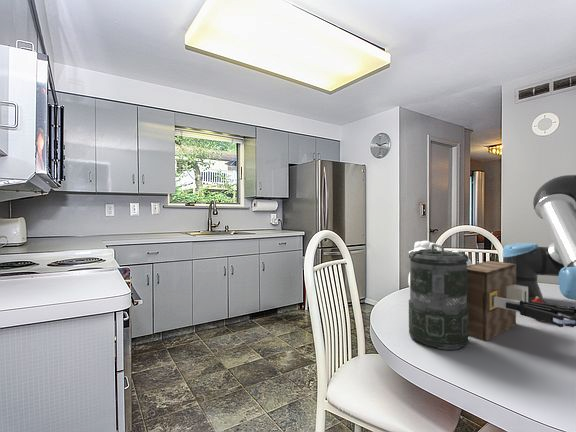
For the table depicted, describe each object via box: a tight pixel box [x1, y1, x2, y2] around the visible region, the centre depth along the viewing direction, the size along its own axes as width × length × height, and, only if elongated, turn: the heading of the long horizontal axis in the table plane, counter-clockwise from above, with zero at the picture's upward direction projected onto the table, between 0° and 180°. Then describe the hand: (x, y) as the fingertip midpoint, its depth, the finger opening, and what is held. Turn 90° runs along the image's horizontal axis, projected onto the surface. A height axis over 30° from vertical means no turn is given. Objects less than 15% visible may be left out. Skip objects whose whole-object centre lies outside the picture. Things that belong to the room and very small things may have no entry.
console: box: [467, 260, 517, 342], centre depth 98 cm, size 22×8×20 cm, turn 125°
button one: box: [506, 284, 528, 302], centre depth 97 cm, size 5×5×5 cm
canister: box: [408, 243, 469, 351], centre depth 90 cm, size 16×16×28 cm
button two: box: [490, 290, 497, 310], centre depth 93 cm, size 5×5×5 cm
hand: (494, 301), depth 91 cm, fingers closed
